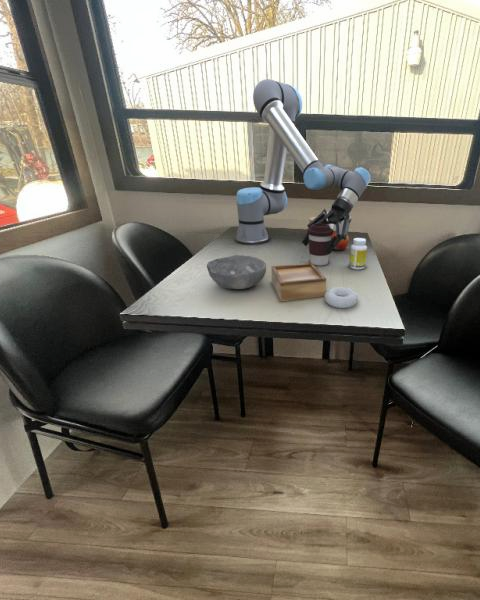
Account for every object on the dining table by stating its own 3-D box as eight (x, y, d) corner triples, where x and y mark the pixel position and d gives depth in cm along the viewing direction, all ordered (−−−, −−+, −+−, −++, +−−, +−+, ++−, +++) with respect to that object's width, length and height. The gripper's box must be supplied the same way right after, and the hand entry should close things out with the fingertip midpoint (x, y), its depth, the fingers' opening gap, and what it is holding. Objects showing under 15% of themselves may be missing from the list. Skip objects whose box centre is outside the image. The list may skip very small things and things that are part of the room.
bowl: (276, 291, 93) (275, 267, 90) (219, 303, 85) (216, 277, 81) (255, 272, 107) (253, 250, 103) (204, 281, 98) (201, 258, 94)
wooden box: (271, 283, 99) (271, 266, 96) (311, 279, 103) (312, 262, 100) (281, 301, 87) (280, 283, 84) (325, 296, 92) (326, 278, 89)
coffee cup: (329, 268, 113) (331, 229, 106) (303, 265, 115) (304, 227, 108) (333, 260, 122) (335, 223, 115) (309, 257, 123) (310, 221, 116)
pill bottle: (366, 266, 117) (370, 238, 112) (362, 271, 112) (365, 242, 107) (352, 263, 119) (354, 236, 114) (346, 268, 114) (349, 240, 109)
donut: (353, 295, 93) (322, 294, 92) (355, 285, 92) (323, 284, 91) (360, 310, 84) (325, 310, 83) (361, 300, 83) (326, 299, 82)
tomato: (347, 252, 132) (348, 234, 128) (326, 250, 133) (327, 233, 129) (349, 246, 140) (350, 229, 136) (329, 244, 141) (330, 228, 137)
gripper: (372, 215, 112) (343, 261, 109) (326, 205, 127) (299, 246, 124) (365, 201, 106) (334, 250, 103) (318, 193, 121) (289, 235, 118)
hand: (315, 248), depth 114 cm, fingers open, 12 cm apart
